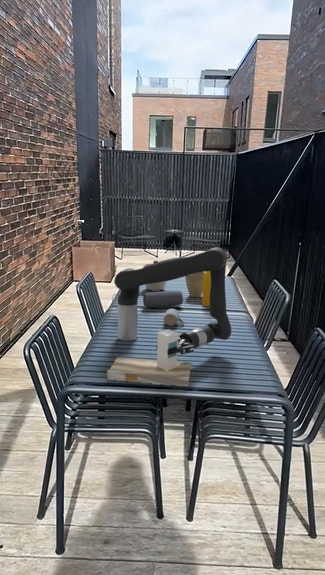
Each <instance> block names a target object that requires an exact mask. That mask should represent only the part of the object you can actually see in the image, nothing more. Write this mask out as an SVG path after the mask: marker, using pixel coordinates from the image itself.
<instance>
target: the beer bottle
mask: <svg viewBox="0 0 325 575" xmlns="http://www.w3.org/2000/svg"><path fill="white" fill-rule="evenodd" d="M210 287H211V275H210V271H206V272H205V274H204V280H203V292H202V298H201V300H202V301H201V302H202V303H201V304H202V305H203V306H204V307H209V308H210V301H209V299H210Z"/></svg>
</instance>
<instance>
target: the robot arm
mask: <svg viewBox="0 0 325 575" xmlns="http://www.w3.org/2000/svg"><path fill="white" fill-rule="evenodd" d="M227 261H228V255H227V253H226V251H225V250H224V249H223V248H221V247H218V246H217V247H212V248H210V249H208V250H205V251H203V252H200V253H197V254H194V255H191V256H180V257H172V258H167V259H164V260H161V261H158V262H157V263H150V264H151V265H149V266H147V267H144V268H143V267H142V268H138V269H134V268H130V267H129V268H125V269H123V270H121V271H119V272H118V273H117V274H115V276H114V285H115V287H116V288H117V289H119V290H120V293H119V295H118V297H117V308H118V309H117V339H118V340H119V341H123V342H124V341H125V342H130V341H131V342H132V341H135V340H137V339H138V318H137V316H138V300H139V296H140V287H141V286H146V285H145V284H152V283H159V282H164V281H166V282H168V281H173V280H177V279H181V278H185V276H187V275H190V274H193V273H198V272H206V271H210V275H211V287H210V299H209V301H210V307H209V314H210V317H212V318H213V319H215V320H216V321H211V322H208V323H207V324H206V325H205V326H203V327H199V328H195V329H191V330H188V331H184V332H182V333H181V334H180V336H178V346H176V347H173V348H170V349H168V355H171V354H174V353H178V354H179V353H180V355H186V354H190V353H194V350H195V349H198V348H200V347H203V346H205V345H207V344H208V345H209V344H210V343H212V342H213V341H214V340H215V339H218V340H223V341H226V340H229V338H230V337H231V336H232V335H231V334H232V326H231V325H232V324H231V322H230V320H229V316H228V313H227V300H226V299H227V298H226V297H227V296H226V271H227V270H226V269H227Z"/></svg>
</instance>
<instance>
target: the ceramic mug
mask: <svg viewBox="0 0 325 575" xmlns="http://www.w3.org/2000/svg"><path fill="white" fill-rule="evenodd" d="M163 323H164V324H165V325H166V326H168V327H173V326H175V325H177V326H180V327H183V326H184V324H185V321H184V320H183V319H181V318H180V313H179V311H178V310H177V309H176V308H167V310H166V311H165V312H164V316H163Z"/></svg>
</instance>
